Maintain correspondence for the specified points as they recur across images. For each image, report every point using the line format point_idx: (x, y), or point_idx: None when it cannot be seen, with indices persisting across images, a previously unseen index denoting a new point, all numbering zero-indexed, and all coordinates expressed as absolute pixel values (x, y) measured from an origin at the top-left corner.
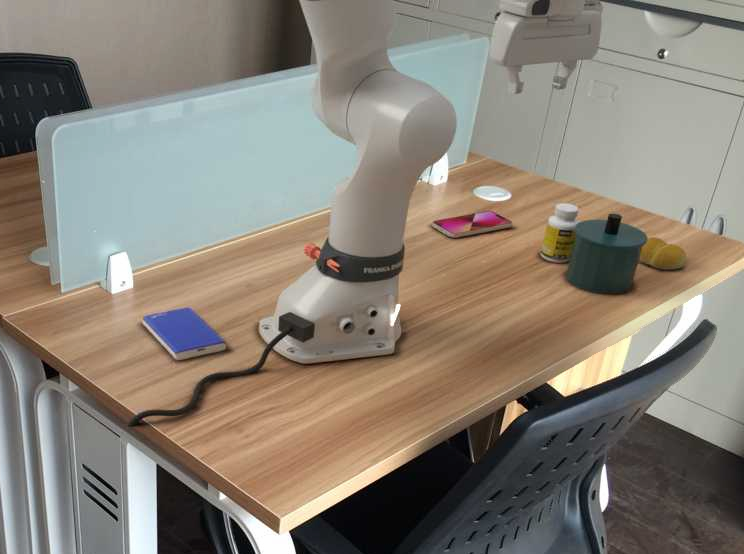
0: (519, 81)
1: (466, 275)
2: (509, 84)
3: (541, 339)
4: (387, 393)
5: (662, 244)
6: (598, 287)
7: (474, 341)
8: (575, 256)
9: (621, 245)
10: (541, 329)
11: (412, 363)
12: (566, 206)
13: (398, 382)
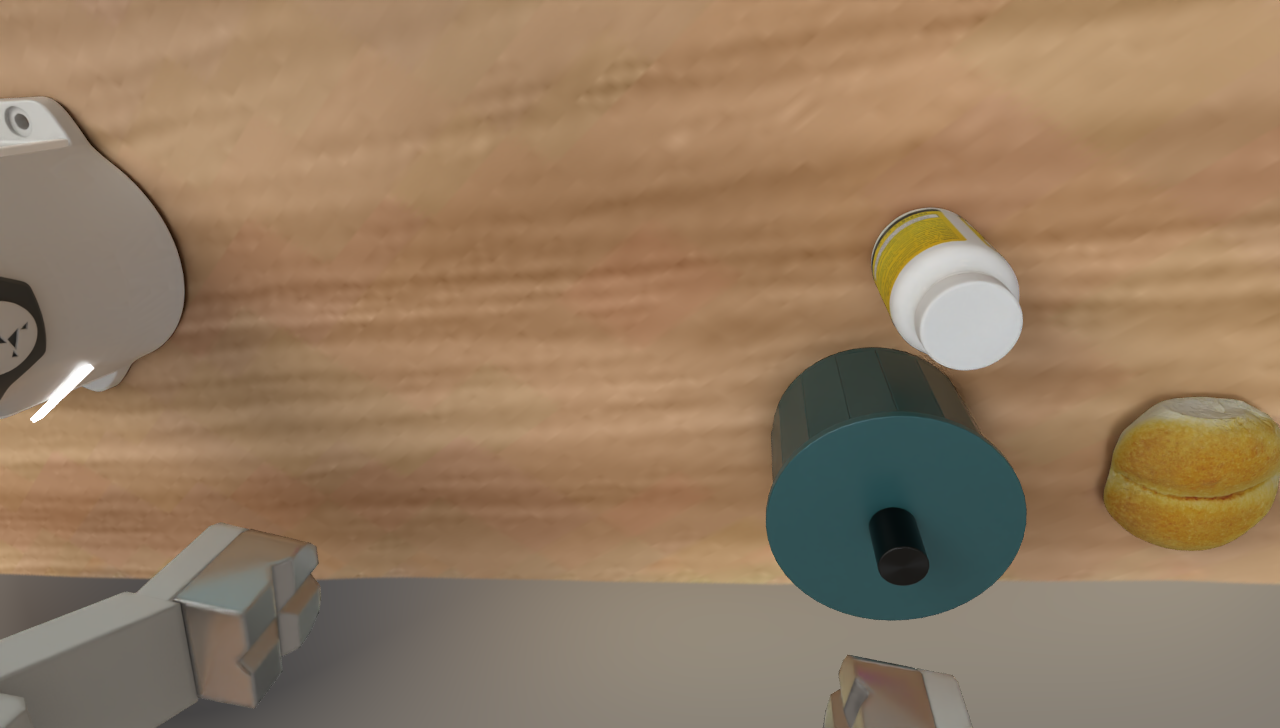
0: (171, 711)
1: (544, 187)
2: (168, 571)
3: (455, 520)
4: (47, 473)
5: (1207, 496)
6: None
7: (313, 446)
8: (787, 431)
9: (810, 593)
10: (490, 496)
11: (139, 431)
12: (978, 319)
13: (82, 461)
